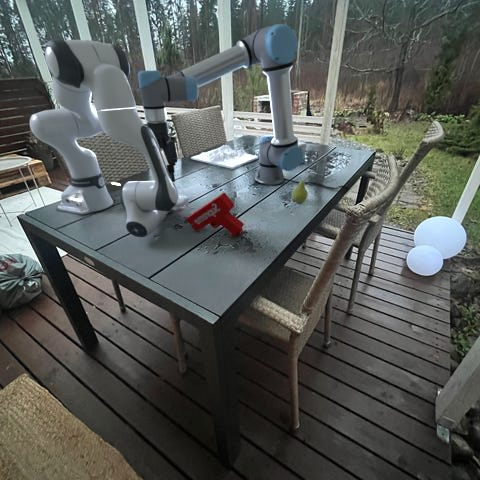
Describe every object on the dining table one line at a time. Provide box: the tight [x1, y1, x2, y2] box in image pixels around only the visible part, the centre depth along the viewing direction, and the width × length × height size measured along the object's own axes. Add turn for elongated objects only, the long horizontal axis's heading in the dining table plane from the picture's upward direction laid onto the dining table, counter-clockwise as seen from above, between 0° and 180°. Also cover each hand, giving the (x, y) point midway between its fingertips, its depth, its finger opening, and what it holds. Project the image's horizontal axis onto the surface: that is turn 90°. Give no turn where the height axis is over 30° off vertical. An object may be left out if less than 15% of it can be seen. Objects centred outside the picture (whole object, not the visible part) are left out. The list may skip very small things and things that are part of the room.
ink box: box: [298, 141, 308, 165], centre depth 167 cm, size 8×5×12 cm, turn 135°
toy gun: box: [186, 192, 245, 238], centre depth 98 cm, size 18×4×15 cm
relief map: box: [190, 144, 259, 170], centre depth 177 cm, size 27×35×5 cm
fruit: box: [291, 174, 311, 204], centre depth 118 cm, size 7×8×12 cm
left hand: (169, 194), depth 113 cm, fingers closed on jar, 4 cm apart
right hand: (166, 183), depth 109 cm, fingers closed on lid, 5 cm apart
